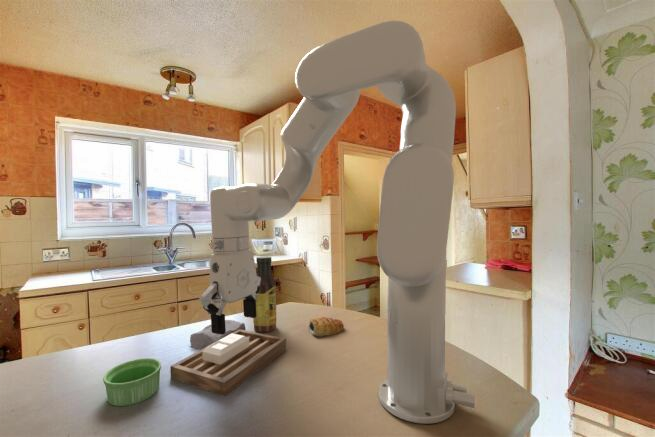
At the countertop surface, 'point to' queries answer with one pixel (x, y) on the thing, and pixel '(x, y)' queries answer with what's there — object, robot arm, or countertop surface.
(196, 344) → the stone block
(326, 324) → the pastry
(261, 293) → the sauce bottle
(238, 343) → the soap bar
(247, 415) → the countertop surface
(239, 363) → the drying rack
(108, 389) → the ramekin
